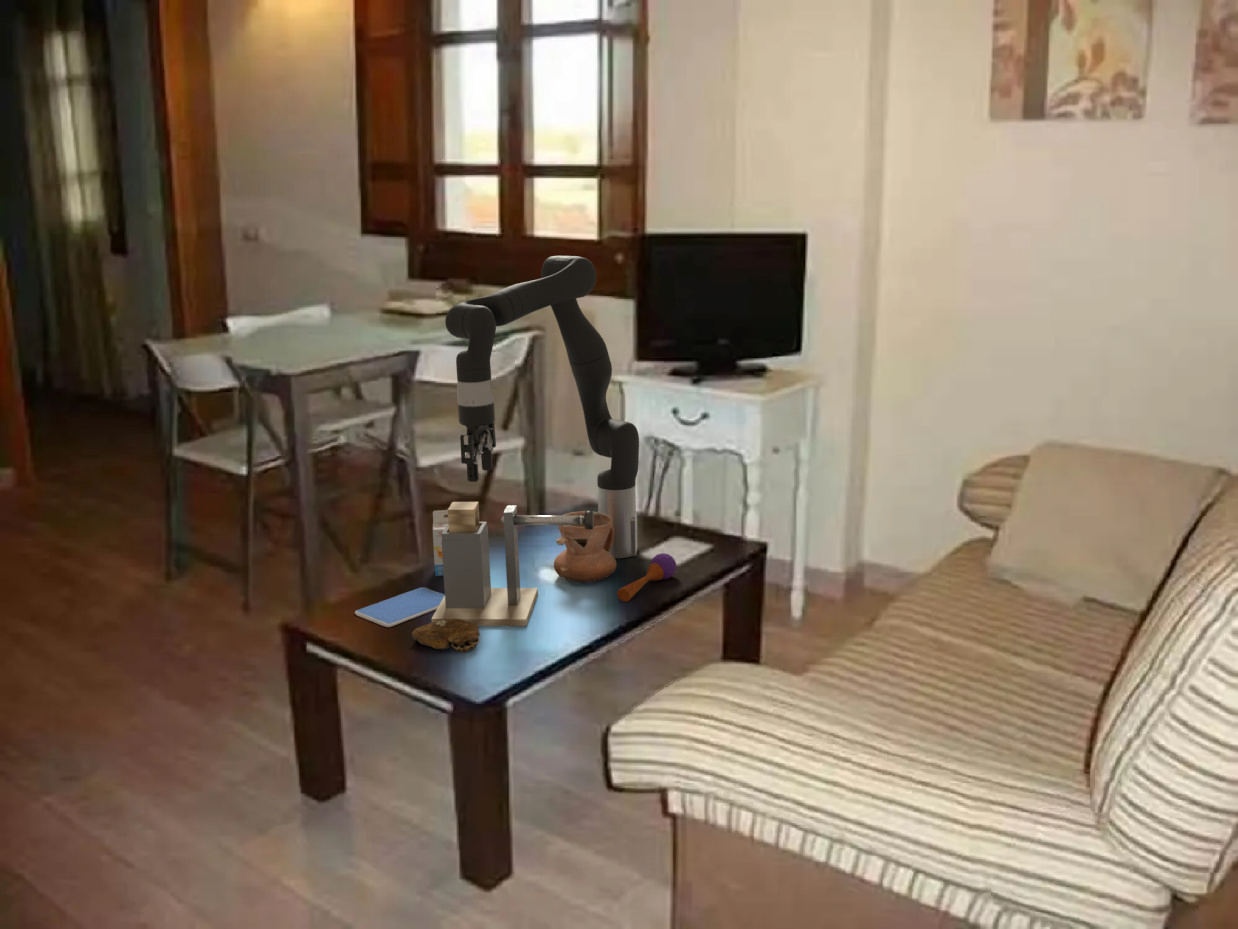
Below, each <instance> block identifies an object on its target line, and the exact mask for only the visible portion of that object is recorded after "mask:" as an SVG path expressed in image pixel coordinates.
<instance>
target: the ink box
mask: <svg viewBox="0 0 1238 929" xmlns="http://www.w3.org/2000/svg"><path fill="white" fill-rule="evenodd" d="M445 516H446V517H445ZM432 520H433V521H432V542H433V543H432V544H433V558H434V559H433V560H434V573H435V574H434V575H435V577H444V573H443V557H442V532H443V531H444V529H445V528H446V526H447V525H448V509H445V510H444V509H443V510H433V511H432Z"/></svg>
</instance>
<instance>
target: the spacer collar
mask: <svg viewBox="0 0 1238 929" xmlns="http://www.w3.org/2000/svg"><path fill="white" fill-rule="evenodd" d="M447 510H448V515H447V517H448V524H449V533H477V532H478V530H479V528H480V522H481V521H480V504H479V501H452V502H451V503H450V506H449V507H448V508H447Z"/></svg>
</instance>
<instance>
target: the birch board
mask: <svg viewBox="0 0 1238 929" xmlns="http://www.w3.org/2000/svg"><path fill="white" fill-rule="evenodd" d="M538 589H539V588H538V587H520V593H521V598H520V600H519V603H518V605H517V606H508V595H507V587H491V596H490V598H489V600H488V602H487V604H486V606H485V609H480V608H446V604H445V596H444V598H443V599H442V601H441V603H440V605H439V606H438V608H437V610H435V612H434V613H433V615H432V617H431V623H432V622H436V621H439V620H450V619H462V620H465V621H466V622H470V623H472V625H477V626H478V627H479V626H480V627H485V626H486V627H488V626H489V627H501V626H502V627H527V625H528V623H529V619H530V617H531V614H532V612H533V609H534V606H535V603H536V602H537V601H536V600H537V598H538V595H539V590H538Z"/></svg>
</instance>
